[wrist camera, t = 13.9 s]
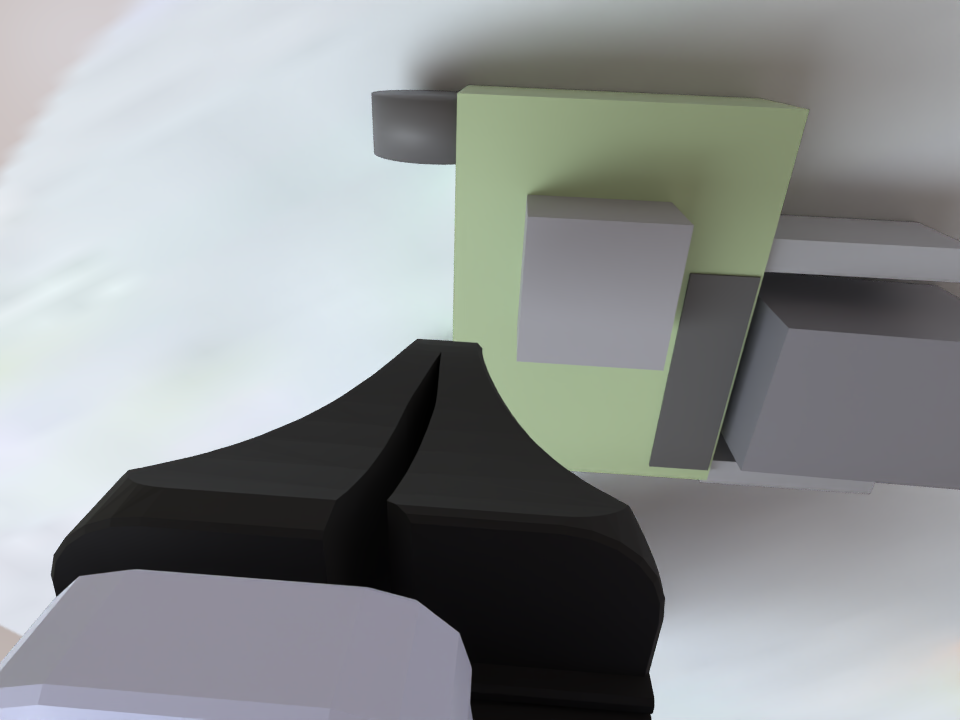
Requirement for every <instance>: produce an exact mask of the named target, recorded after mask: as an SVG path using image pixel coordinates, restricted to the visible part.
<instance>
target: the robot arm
mask: <svg viewBox="0 0 960 720" xmlns="http://www.w3.org/2000/svg"><path fill="white" fill-rule="evenodd" d="M482 350H483V348H482V347H481V346H480V345H479V344H478V343H475V342H458V341H442V340H426V339H417V340H415V341H414V342H413V343H412V344H410V345H409V346H408V347H407V348H406V349H404V350H403V351H402V352H401V353H400V354H398V355H397V356H396V357H395V358H394V359H392V360H391V361H390V362H389V363H387V364H386V365H385V366H384V367H382V368H381V369H380V370H379V371H377V372H376V373H375V374H373V375H372V376H371V377H369V378H368V379H366V380H365V381H363V382H362V383H361V384H359V385H358V386H356V387H355V388H353V389H352V390H350V391H349V392H347V393H346V394H344V395H343V396H341V397H340V398H338V399H336V400H335V401H333V402H331V403H330V404H328V405H326V406H324V407H322V408H320V409H319V410H317V411H315V412H313V413H311V414H309V415H307V416H305V417H303V418H301V419H299V420H296V421H294V422H292V423H289V424H287V425H284V426H282V427H280V428H277V429H275V430H272V431H270V432H268V433H265V434H263V435H260V436H258V437H255V438H252V439H249V440H246V441H243V442H240V443H237V444H234V445H231V446H228V447H225V448H221V449H218V450H214V451H211V452H208V453H204V454H200V455H196V456H193V457H188V458H184V459H179V460H175V461H170V462H166V463H161V464H157V465H152V466H147V467H143V468H137V469H132V470H128V471H127V472H126V473H125V474H124V475H123V476H122V477H121V478H120V479H119V480H118V481H117V482H116V484H115V485H114V486H113V487H112V488H111V489H110V490H109V491H108V492H107V493H106V494H105V495H104V496H103V498H102V499H101V500H100V501H99V502H98V503H97V504H96V505H95V506H94V507H93V508H92V509H91V510H90V512H89V513H88V514H87V515H86V516H85V517H84V518H83V519H82V520H81V521H80V522H79V523H78V525H77V526H76V527H75V528H74V529H73V530H72V531H71V532H70V533H69V534H68V535H67V536H66V537H65V539H64V540H63V542H62V543H61V545H60V546H59V548H58V549H57V551H56V552H55V554H54V557H53V564H52V571H51V577H52V581H53V585H54V589H55V593H56V598H55V599H54V600H53V601H52V602H51V603H50V604H49V606H48V607H47V608H46V609H45V610H44V611H43V613H42V614H41V615H40V616H39V617H38V619H37V620H36V621H35V622H34V623H33V625H32V626H31V627H30V628H29V629H28V630H27V632H26V633H25V634H24V635H23V636H22V638H21V639H20V640H19V641H18V642H17V643H16V645H15V646H14V647H13V648H12V649H11V651H10V652H9V653H8V654H7V655H6V657H5V658H4V659H3V660H2V661H1V663H0V720H651V715H650V714H652V713H653V710H654V694H653V689H652V685H651V680H650V675H649V670H650V667H651V663H652V659H653V656H654V652H655V648H656V645H657V641H658V637H659V633H660V630H661V626H662V622H663V618H664V604H665V597H664V594H663V588H662V583H661V579H660V576H659V572H658V569H657V566H656V564H655V561H654V558H653V556H652V553H651V551H650V548H649V546H648V544H647V542H646V539H645V537H644V535H643V533H642V530H641V528H640V526H639V524H638V522H637V520H636V518H635V516H634V514H633V512H632V510H631V508H630V507H629V506H628V505H626V504H624V503H623V502H621V501H619V500H617V499H615V498H613V497H612V496H610V495H608V494H606V493H604V492H602V491H601V490H599V489H597V488H595V487H593V486H591V485H590V484H588V483H586V482H585V481H583V480H582V479H580V478H579V477H578V476H576V475H575V474H573V473H572V472H570V471H569V470H567V469H566V468H565V467H563V466H562V465H561V464H559V463H558V462H557V461H556V460H554V459H553V458H552V457H551V456H550V455H549V454H548V453H546V452H545V451H544V450H543V449H542V448H541V447H540V446H539V445H537V444H536V442H535V441H534V440H533V439H532V438H531V437H530V436H529V435H528V434H527V433H526V431H525V430H524V429H523V428H522V427H521V425H520V424H519V423H518V422H517V420H516V419H515V417H514V416H513V415H512V413H511V412H510V410H509V409H508V407H507V406H506V404H505V403H504V401H503V399H502V398H501V396H500V394H499V393H498V391H497V389H496V387H495V385H494V383H493V381H492V379H491V377H490V374H489V372H488V370H487V367H486V364H485V361H484V358H483V353H482Z"/></svg>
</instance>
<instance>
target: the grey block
mask: <svg viewBox="0 0 960 720" xmlns="http://www.w3.org/2000/svg"><path fill="white" fill-rule="evenodd" d="M721 433H722V435H723V437H724V439H725V441H726V443H727V445H728V447H729V449H730V450H731V452H732V454H733V456H734V458H735V460H736V462H737V464H738V466H739V468H740V470H741V471H749V472H760V473H772V474H784V475H795V476H807V477H819V478H830V479H842V480H853V481H865V482H877V483H888V484H900V485H911V486H923V487H935V488H946V489H958V490H960V299H959V298H958V297H956V296H954V295H952V294H951V293H949V292H947V291H946V290H944V289H942V288H940V287H939V286H937V285H924V284H911V283H898V282H885V281H873V280H860V279H847V278H834V277H821V276H808V275H795V274H783V273H770V272H764V276H763V279H762V283H761V286H760V290H759V294H758V297H757V301H756V305H755V308H754V312H753V315H752V319H751V323H750V326H749V330H748V333H747V337H746V341H745V344H744V348H743V352H742V355H741V359H740V362H739V366H738V370H737V373H736V377H735V380H734V384H733V388H732V391H731V395H730V399H729V402H728V406H727V409H726V413H725V417H724V420H723V424H722V427H721Z"/></svg>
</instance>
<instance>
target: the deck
mask: <svg viewBox="0 0 960 720" xmlns="http://www.w3.org/2000/svg"><path fill="white" fill-rule="evenodd" d="M808 113H809V109H805V108H801V107H796V106H792V105H787V104H783V103H779V102H774V101H770V100H766V99H761V98H741V97H719V96H697V95H675V94H653V93H631V92H609V91H587V90H566V89H544V88H522V87H500V86H478V85H467V86H466V87H465V88H463V89H462V90H461V91H459V92H454V91H433V90H389V91H377V92H373V93H372V117H373V140H374V154H375V155H377V156H379V157H381V158H384V159H388V160H393V161H399V162H407V163H418V164H442V165H446V164H456V186H455V241H454V297H453V341H458V342H475V343H478V344H479V345H480V346H481V347H482V348H483V350H482V353H483V358H484V361H485V364H486V367H487V370H488V372H489V374H490V377H491V379H492V381H493V383H494V385H495V387H496V389H497V391H498V393H499V394H500V396H501V398H502V399H503V401H504V403H505V404H506V406H507V407H508V409H509V410H510V412H511V413H512V415H513V416H514V417H515V419H516V420H517V422H518V423H519V424H520V425H521V427H522V428H523V429H524V430H525V431H526V433H527V434H528V435H529V436H530V437H531V438H532V439H533V440H534V441H535V442H536V444H537V445H539V446H540V447H541V448H542V449H543V450H544V451H545V452H546V453H548V454H549V455H550V456H551V457H552V458H553V459H554V460H556V461H557V462H558V463H559V464H561V465H562V466H563V467H565V468H566V469H567V470H569V471H581V472H595V473H609V474H624V475H638V476H652V477H667V478H681V479H696V480H699V481H700V482H704V483H718V484H733V485H747V486H762V487H776V488H790V489H805V490H819V491H833V492H848V493H862V494H870V493H871V491H872V488H873V486H874V484H875V482H865V481H853V480H842V479H830V478H819V477H807V476H795V475H784V474H772V473H760V472H749V471H741V470H740V468H739V466H738V464H737V462H736V460H735V458H734V456H733V454H732V452H731V450H730V449H729V447H728V445H727V443H726V441H725V439H724V437H723V435H722V433H721V427H722V424H723V420H724V417H725V413H726V409H727V406H728V402H729V399H730V395H731V391H732V388H733V384H734V380H735V377H736V373H737V370H738V366H739V362H740V359H741V355H742V352H743V348H744V344H745V341H746V337H747V333H748V330H749V326H750V323H751V319H752V315H753V312H754V308H755V305H756V301H757V297H758V294H759V290H760V286H761V283H762V279H763V276H764V272H780V273H798V274H816V275H834V276H851V277H869V278H887V279H904V280H922V281H940V282H958V283H960V241H958V240H956V239H954V238H952V237H949V236H947V235H945V234H943V233H940V232H938V231H936V230H934V229H932V228H929V227H927V226H925V225H923V224H921V223H918V222H904V221H885V220H867V219H848V218H829V217H810V216H791V215H780V214H781V210H782V207H783V203H784V200H785V196H786V192H787V189H788V185H789V182H790V178H791V174H792V171H793V167H794V163H795V160H796V156H797V153H798V149H799V145H800V142H801V138H802V135H803V131H804V127H805V124H806V120H807V116H808Z"/></svg>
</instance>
